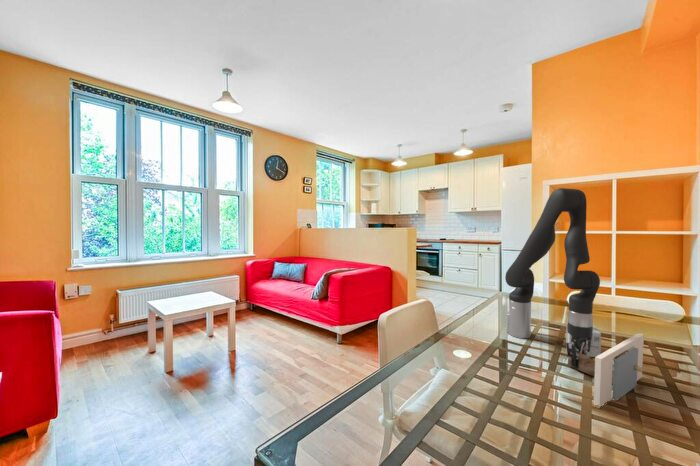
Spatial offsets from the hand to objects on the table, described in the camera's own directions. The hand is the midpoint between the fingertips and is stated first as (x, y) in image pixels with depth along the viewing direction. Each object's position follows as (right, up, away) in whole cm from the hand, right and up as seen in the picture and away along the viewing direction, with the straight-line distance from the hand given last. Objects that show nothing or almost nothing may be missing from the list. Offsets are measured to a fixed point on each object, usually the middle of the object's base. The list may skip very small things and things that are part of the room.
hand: (578, 365), depth 111 cm
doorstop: (+2, -1, -4) cm, 5 cm away
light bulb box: (+11, 0, +12) cm, 16 cm away
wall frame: (+3, -2, -14) cm, 14 cm away
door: (+4, -2, -16) cm, 16 cm away
